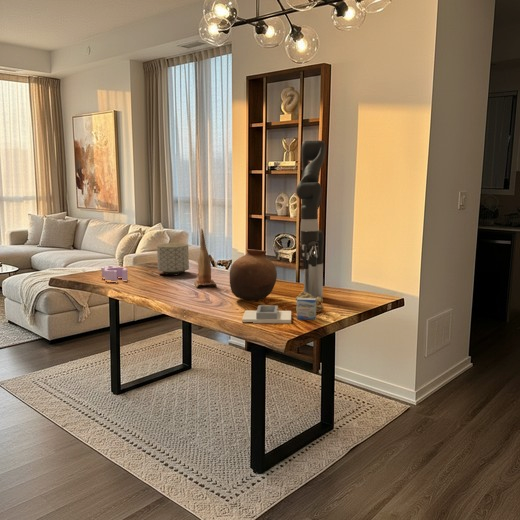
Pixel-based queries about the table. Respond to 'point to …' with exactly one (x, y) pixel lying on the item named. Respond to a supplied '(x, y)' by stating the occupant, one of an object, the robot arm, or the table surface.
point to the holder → (267, 315)
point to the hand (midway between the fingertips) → (309, 267)
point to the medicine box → (306, 308)
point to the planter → (173, 258)
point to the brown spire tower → (204, 265)
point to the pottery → (252, 276)
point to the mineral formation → (306, 295)
